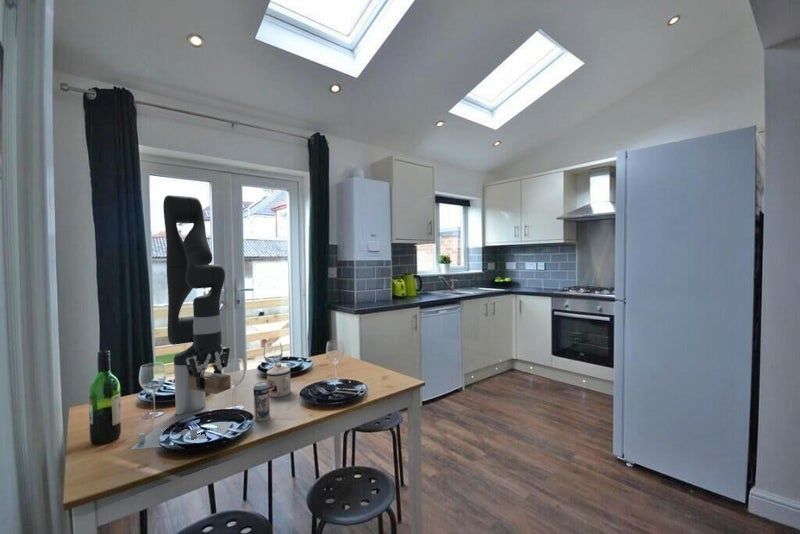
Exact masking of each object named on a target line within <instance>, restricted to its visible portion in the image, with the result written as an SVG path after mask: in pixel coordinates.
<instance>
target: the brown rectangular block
mask: <svg viewBox="0 0 800 534" xmlns="http://www.w3.org/2000/svg"><path fill="white" fill-rule="evenodd" d="M203 377H204V378H205V379H204V382H205V389H203V390H200V389H198V388H197V387H196V377H191V376H188V389H192V390H197V391H202V392H205V393H208V394H214V395H218V394H221V393H223V392H225V391H227V390H230V389H231V387H232V385H231V384H232V383H231V375H230V374H225V373H222V374H219V373H214V371H213V372H212V371H206V370H205V373H204V376H203Z"/></svg>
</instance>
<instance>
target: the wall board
mask: <svg viewBox="0 0 800 534" xmlns="http://www.w3.org/2000/svg"><path fill="white" fill-rule="evenodd" d="M213 424H216V426H217V428H219V430H218V429H217V430H216V431H217V433H222V434H223V433H224V434H226V432H227V431H228V430H229V428H231V426H232V424H234V421H229V422H226V421H225V422H218V423H217V422H216V423H215V422H214V423H213ZM169 427H170V426H165V427H156V428H154V429H153V430H152V431H151V432H149V433H148V434H147V435H146V432H141V433H138V434H137V440H138V441H137V443H135V445H133V446H131V448H129V451H130V450H132V451H133V450H140V449H141V450H142V449H143V450H144V449H153V448H154V449H155V448H163V447H162V446H160V445H159V443H158V439H159V436H160V435H161V434H162V433H163V432H164V431H165V430H166V429H167V428H169ZM207 429H209V428H207ZM220 429H221V430H220ZM210 430H211V428H210ZM188 431H189V430H188V429H184V430H182V431H181V432H179V433H180V434H181V435H183V437H184V436H185V434H186V433H187V432H188ZM190 433H191V438H189V437H186V438H185V439H187V440H190V439H191V440H194V439H197V438H199V439H201V438H202V439H203V438H204V439H205V438H207V436H205V434H202V435H201V433H200V434H198V435H199V436H197V429H192V430H190Z"/></svg>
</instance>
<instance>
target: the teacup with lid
mask: <svg viewBox="0 0 800 534" xmlns="http://www.w3.org/2000/svg"><path fill="white" fill-rule="evenodd" d="M291 372H292V371H291V368H290V367H287V366H284V365H282V364H281V363H276V364H275V365H274V366H273V367H272V368H270V369H268V370H267V371H266V380H267V381H266V383H268V385H269V397H271V398H278V397H284V396H286V395H290V394H291V391H292V389H291V388H292V387H291V385H292V384H291V383H292V381H291Z"/></svg>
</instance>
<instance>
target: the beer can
mask: <svg viewBox="0 0 800 534" xmlns="http://www.w3.org/2000/svg"><path fill="white" fill-rule="evenodd" d="M270 407H271V406H270V396H269V385H268V383H267V381H262V382H257V383H255V384H254V386H253V408H254V409H253V410H254V414H253V415H254V421H256V422H262V421H266V420H269V419H270V418H271V411H270V410H271V409H270Z"/></svg>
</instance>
